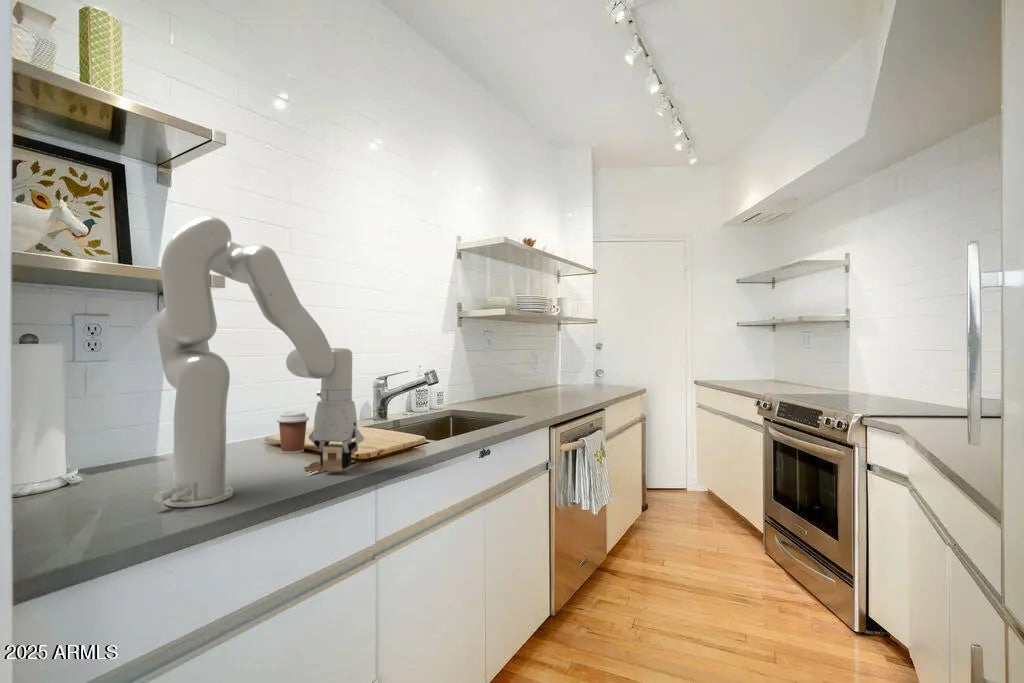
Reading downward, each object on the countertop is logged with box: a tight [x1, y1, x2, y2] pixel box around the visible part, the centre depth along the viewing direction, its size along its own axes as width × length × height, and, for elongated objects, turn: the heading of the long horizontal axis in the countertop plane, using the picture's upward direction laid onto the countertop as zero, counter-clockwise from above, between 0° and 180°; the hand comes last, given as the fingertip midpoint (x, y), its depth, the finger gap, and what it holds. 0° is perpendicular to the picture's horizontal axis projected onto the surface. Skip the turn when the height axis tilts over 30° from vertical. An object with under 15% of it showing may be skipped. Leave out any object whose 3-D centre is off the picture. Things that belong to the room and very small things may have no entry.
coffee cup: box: [276, 410, 310, 455], centre depth 155 cm, size 9×9×12 cm
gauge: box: [323, 443, 359, 472], centre depth 134 cm, size 12×5×6 cm, turn 172°
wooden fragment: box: [303, 459, 357, 474], centre depth 140 cm, size 26×11×1 cm, turn 167°
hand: (335, 466), depth 130 cm, fingers closed on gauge, 5 cm apart
